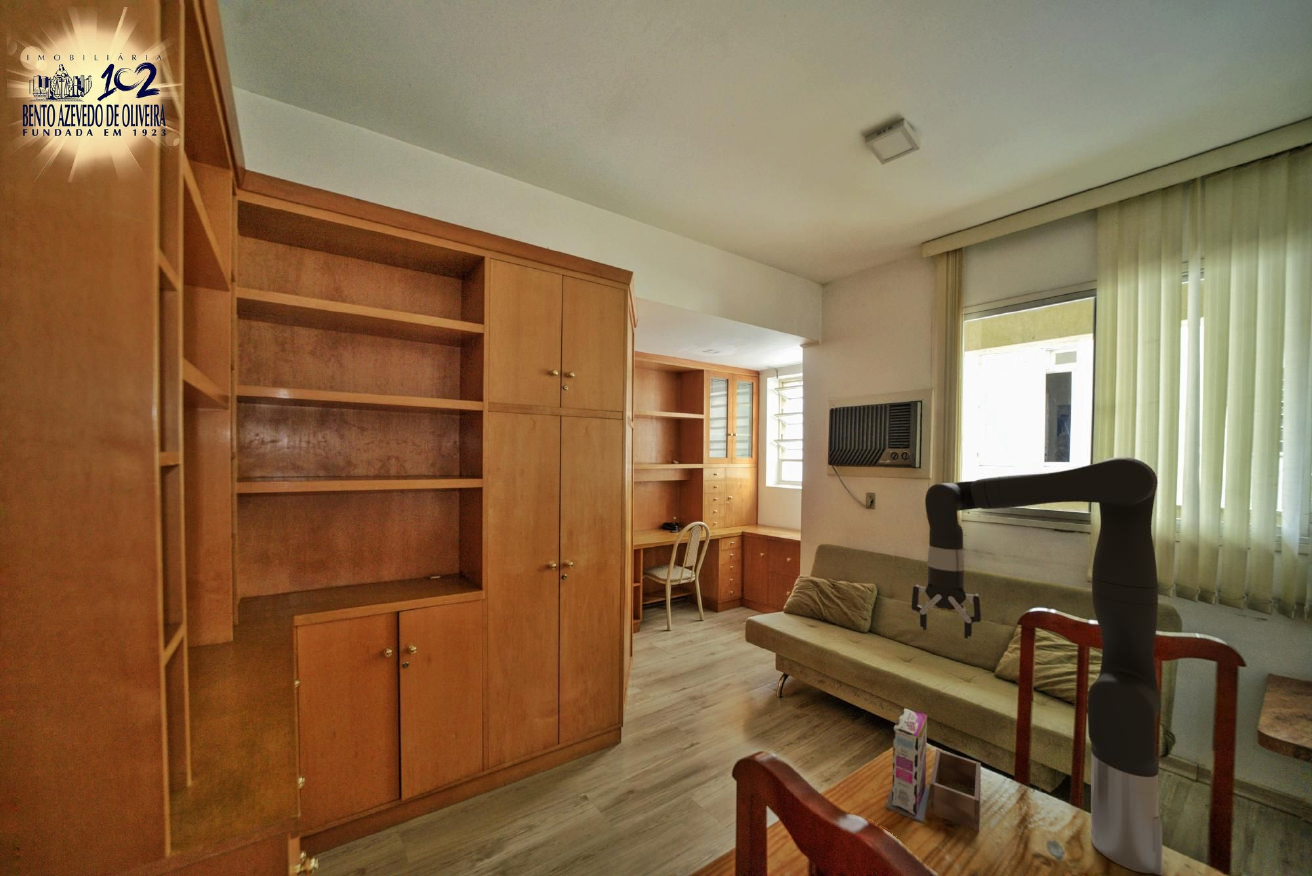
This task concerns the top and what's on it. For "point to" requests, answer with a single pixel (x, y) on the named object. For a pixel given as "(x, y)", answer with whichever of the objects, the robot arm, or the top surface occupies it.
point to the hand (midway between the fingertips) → (945, 633)
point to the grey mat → (921, 810)
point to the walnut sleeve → (953, 801)
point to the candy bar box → (909, 761)
